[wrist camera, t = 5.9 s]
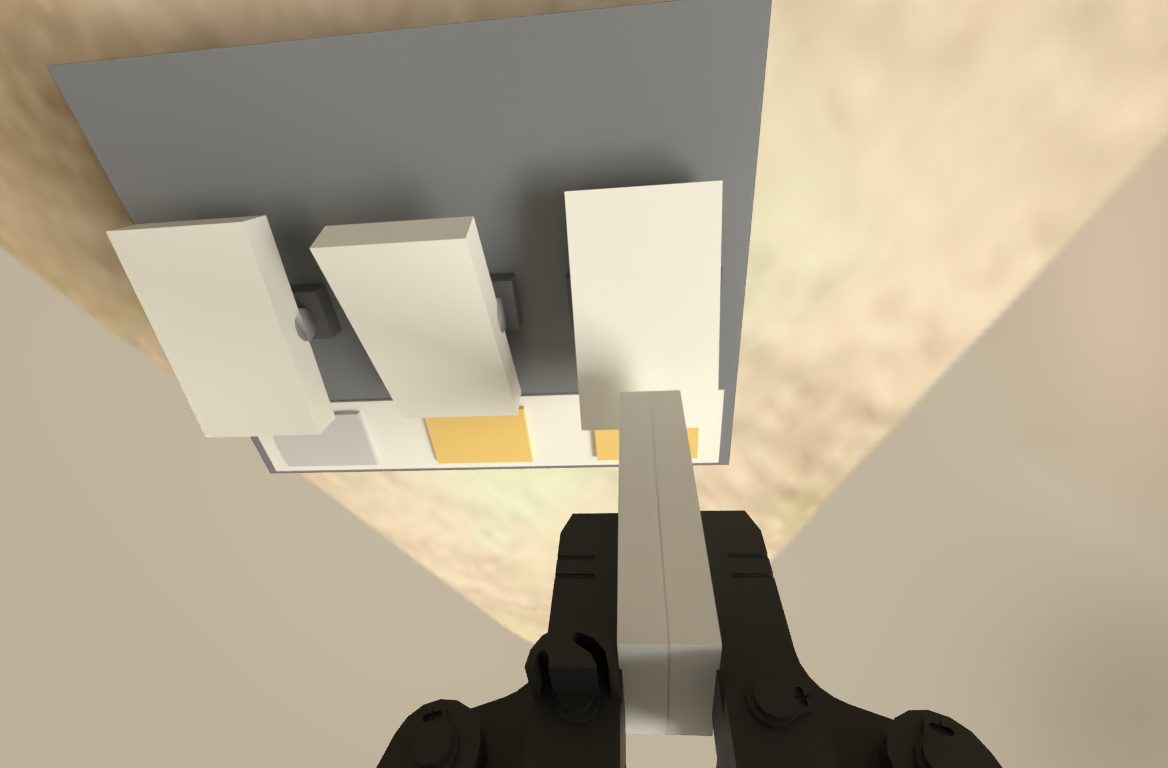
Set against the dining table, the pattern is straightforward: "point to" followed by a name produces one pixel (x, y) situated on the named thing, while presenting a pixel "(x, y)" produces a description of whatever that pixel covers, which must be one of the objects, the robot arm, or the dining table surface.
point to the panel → (448, 185)
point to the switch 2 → (424, 313)
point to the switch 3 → (646, 296)
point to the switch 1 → (228, 324)
